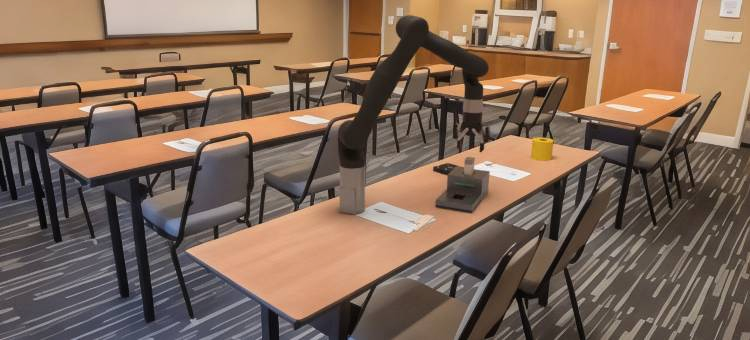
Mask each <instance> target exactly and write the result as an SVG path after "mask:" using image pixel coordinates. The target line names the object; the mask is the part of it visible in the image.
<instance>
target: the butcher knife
mask: <svg viewBox="0 0 750 340" xmlns="http://www.w3.org/2000/svg"><path fill="white" fill-rule="evenodd" d="M421 216H422V217H421ZM421 216H420V217H419V218H418V220H417V219H415V221H414V223H413V222H412V223H411V225H415V224H416V227H414V228H412V229H411V230H413V232H418V231H419V230H420V229H423V227H424V226H426V225H427V224H428V223H430V222H431V221H432V220H433V219H434V218H435V215H431V214H423V215H421Z"/></svg>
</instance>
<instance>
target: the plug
mask: <svg viewBox="0 0 750 340" xmlns="http://www.w3.org/2000/svg"><path fill="white" fill-rule="evenodd" d="M475 161H476V159H475V157H472V156H467V157H465V159H464V163H463V164H464V165H463V167H464V174H466V175H473V174H474V169H475V163H476V162H475Z"/></svg>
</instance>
